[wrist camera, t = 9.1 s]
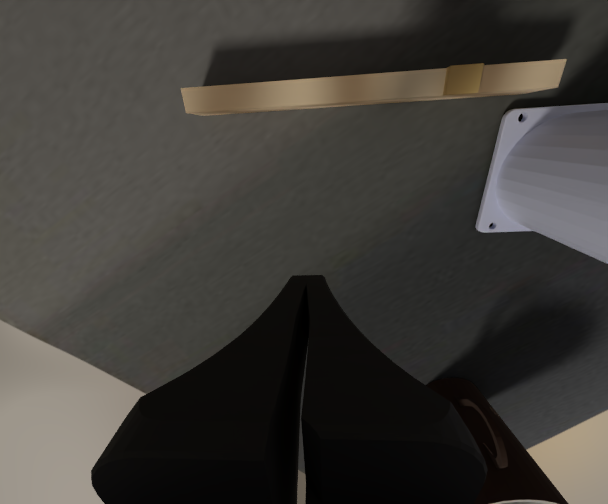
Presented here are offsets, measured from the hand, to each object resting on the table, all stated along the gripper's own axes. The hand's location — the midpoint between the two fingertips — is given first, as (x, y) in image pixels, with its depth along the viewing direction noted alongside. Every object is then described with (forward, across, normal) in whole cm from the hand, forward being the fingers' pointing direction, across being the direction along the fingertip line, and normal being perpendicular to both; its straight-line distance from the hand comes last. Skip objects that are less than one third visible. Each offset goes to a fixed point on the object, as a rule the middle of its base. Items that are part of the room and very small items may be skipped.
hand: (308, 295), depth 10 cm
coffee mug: (+10, -14, +19) cm, 26 cm away
